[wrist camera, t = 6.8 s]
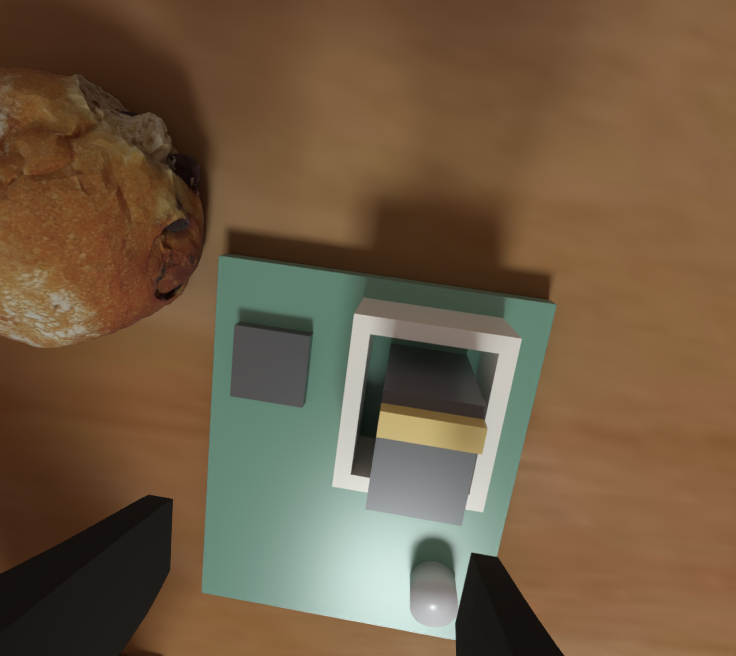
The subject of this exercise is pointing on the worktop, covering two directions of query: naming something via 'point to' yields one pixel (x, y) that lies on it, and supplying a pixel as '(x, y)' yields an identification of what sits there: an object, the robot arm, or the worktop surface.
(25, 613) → the robot arm
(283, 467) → the board
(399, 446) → the plug
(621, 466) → the worktop surface
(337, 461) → the white rectangular frame
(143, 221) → the bread roll
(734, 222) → the worktop surface
